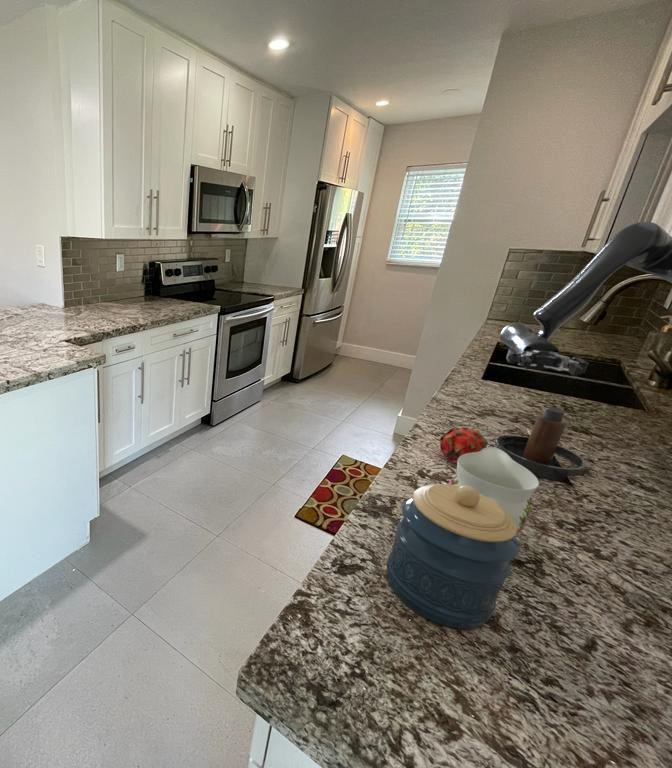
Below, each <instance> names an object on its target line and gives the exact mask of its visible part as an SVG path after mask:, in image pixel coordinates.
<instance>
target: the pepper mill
mask: <svg viewBox="0 0 672 768" xmlns="http://www.w3.org/2000/svg"><path fill="white" fill-rule="evenodd" d="M565 414H566V411H565V410H563V409H561V408H558V407H553V406H550V407H549V406H547V407H545V411H544V413H538V414H537V416H536V418H535V421H534V424H533V426H532V428H531V429H532V432H531V434H530V436H528V437H529V439H528V442H527V445H526V447H525V450H524V452H523V455H522V457H523V458H525V459H528V460H531V461H534V462H537V463H540V464H544V465H550V463H551V460H552V458H553V456H555V454H556V453H555V451H556V448H557V446H558V445H559V443H560V442H561V439H562V437H563V436H562V435H564V434H563V433H564V431H565V429H566V426H567V423H568V420H566V418H564V416H565Z"/></svg>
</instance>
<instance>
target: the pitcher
mask: <svg viewBox="0 0 672 768" xmlns="http://www.w3.org/2000/svg"><path fill="white" fill-rule="evenodd" d="M456 465H457V466H456V473H455V474H454V475H453V476H452V477H451V478H450V480H449V481H448V483H447V484H448V485H455V486H460V487H461V486H470V487H473V488H475V489H476V490H477V491H478V493H480V494H482V495H484V496H486V497H488V498H489V499H491V500H493V501H494V502H495V503H497V504H498V505H499V506H500V507H501V508H502V509H503V510H504V511H505V512H507V513H508V514H509V515H510V516H511V517H512V519H513V520H514V522H515V523H516V526H517V533H516V535H515V537H516V538H517V537H518V536H519V534H521V533H522V531H523V530H524V528H525V526H526V525H527V523H528V521H529V517H530V514H531V497H532V495H533V494H534V493H535V491H536V490H537V489H538V488H539V485H540V481H539V479H538V477H537V476H535V475H534V474H533V473H532V472H530V471H529V470H528V469H526V468H525V467H523V466H522V465H520V464H518V463H517V462H515V461H514V460H512V459H511V457H510V456H509V455H508V454H506V453H505V452H504V451H502V450H500V449H498V448H494V446H488V447H487V446H486V447H485V448H484V449H482V450H481V451H479V452H473V453H467V454H463V455H461V456H460V457H459V458H458V461H457V463H456Z"/></svg>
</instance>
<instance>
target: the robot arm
mask: <svg viewBox="0 0 672 768" xmlns="http://www.w3.org/2000/svg"><path fill="white" fill-rule="evenodd" d="M623 266H627V267H629V268H632V269H636V270H639V271H641V272H645V273H647V274H650V275H653V276H654V277H658V278H660V279H663V280H665V281H667V282H669V283H670V284H672V236H671V234H669V233H668V232H667V231H666V230H665V229H664V228H662V227H661V226H660V225H659V224H657V223H655V222H651V221H639V222H634V223H632V224H629V225H627V226H625V227H624V228H622V229H621V230H618V232H617V233H616V234H615V235H614V236H613V237H611V239H609V240H608V242H606V244H605V245H603V247H602V248H601V249H600V250H599V251H598V252H597V253H596V255H595V256H594V257H593V258H592V259H590V261H589V262H588V263H587V264H586V265H585V266H584V267H583V268H582V269H581V270H580V271H579V272H578V274H577V275H575V276H574V277H573V278H572V280H571V281H570V282H568V283H567V284H566V285H565V286H564V287H562V288H561V290H559V291H558V292H557V293H556V294H554V295H553V296H552V297H551V298H550V299H548V300H547V301H545V302H544V304H542V305H541V306H539V308H537V309H536V310H535V311H534V313H532V314H533V315H532V316H533V318H534V320H536V321H537V322H538V323H539V324H540V329H539V331H536V330H534V329H533V328H532V327H530V326H529V325H527V324H526V323H523V322H519V321H518V322H517V321H516V322H511V323H509V324H508V325H506V326H505V327H503V328H502V330H501V331H500V334H499V340H500V341H501V342H502V343H503V344H504V345H506V346H507V347H509V348H508V351H507V354H506V357H505V359H506V361H507V363H509V364H515V363H517V365H518V366H521V367H523V368H524V369H525V370H535V371H542V370H546V369H552V370H555V371H559V372H562V371H563V372H568V373H569V374H570V375H571V376H574V377H578V375H581V374H585V372H586V371H587V368H588V366H589V362H588V361H586V360H584V359H583V358H581V357H579V356H573V357H572V358H571V357H570V356H567V355H564V354H563V355H562V354H561V353H560V350H559V347H557V346H556V344H554V343H552V342H551V341H550V340H549V339H551V337H552V336H553V335H554V333H556V331H558V329H559V328H560V327H561V326H562V325H564V324H565V322H566V323H567V321H569V320H570V319H571V318H572V317H574V316H575V315H576V314H578V313H580V311H582V310H583V309H584V308H585V307H586V305H587V304H588V303H589V302H590V301H591V300H592V299H593V297H594V296H595V294H596V293H597V291H599V289H600V288H601V286H602V285H603V284H604V283H605V282H606V281H607V279H609V277H610V276H612V275H613V274H614V273H616V271H618V270H619V269H620V268H622V267H623Z"/></svg>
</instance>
